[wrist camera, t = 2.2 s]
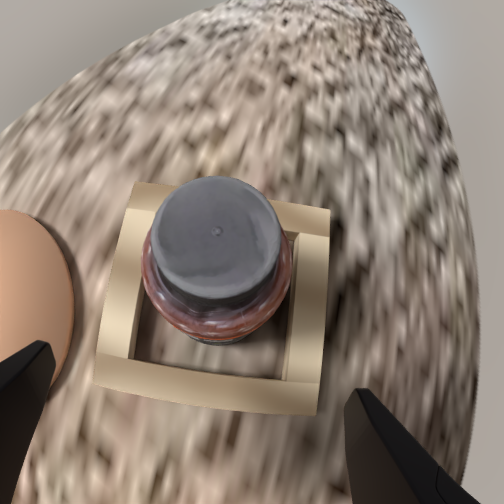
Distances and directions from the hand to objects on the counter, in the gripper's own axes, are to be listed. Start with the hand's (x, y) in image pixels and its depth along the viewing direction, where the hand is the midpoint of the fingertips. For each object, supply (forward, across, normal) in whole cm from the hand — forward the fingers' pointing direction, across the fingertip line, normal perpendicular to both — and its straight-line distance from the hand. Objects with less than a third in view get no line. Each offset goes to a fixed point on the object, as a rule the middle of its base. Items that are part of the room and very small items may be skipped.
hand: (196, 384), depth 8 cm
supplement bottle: (+11, 0, +5) cm, 12 cm away
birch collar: (+11, 0, +5) cm, 12 cm away
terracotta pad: (+8, +17, +8) cm, 20 cm away
